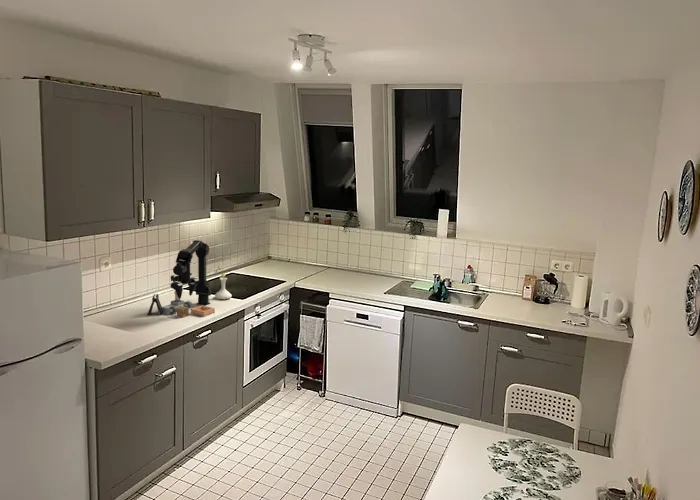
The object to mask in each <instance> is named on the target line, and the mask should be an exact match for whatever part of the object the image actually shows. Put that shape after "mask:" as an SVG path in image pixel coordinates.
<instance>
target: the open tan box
mask: <svg viewBox="0 0 700 500" xmlns="http://www.w3.org/2000/svg"><path fill="white" fill-rule="evenodd" d="M215 311H216V310H215V307H211V306H207V305H199V306H196V307H193V308H190V314H191V315H195V316H199V317H203V318H204V317H207V316H210V315H212V313H213V314H215Z"/></svg>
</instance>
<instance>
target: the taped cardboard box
mask: <svg viewBox="0 0 700 500" xmlns="http://www.w3.org/2000/svg"><path fill="white" fill-rule="evenodd" d="M189 316H190V308H187V307H183V305H181V306H178V307H177V312H176V317H178V318H187V317H189Z"/></svg>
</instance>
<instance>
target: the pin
mask: <svg viewBox="0 0 700 500" xmlns="http://www.w3.org/2000/svg"><path fill="white" fill-rule="evenodd" d="M173 292H174V300H175V302H180V300H181V299H179V298H178V295H177V293H176V291H175V290H174V291H173Z"/></svg>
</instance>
